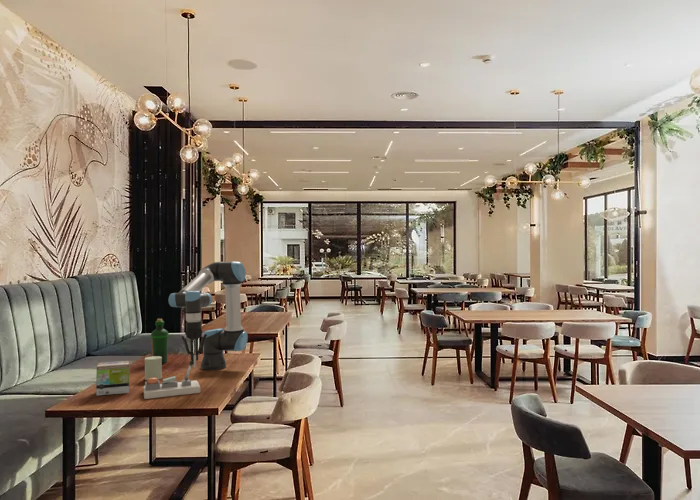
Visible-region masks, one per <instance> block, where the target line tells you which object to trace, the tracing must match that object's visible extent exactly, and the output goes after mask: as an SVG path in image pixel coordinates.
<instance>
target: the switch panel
mask: <svg viewBox="0 0 700 500" xmlns="http://www.w3.org/2000/svg"><path fill="white" fill-rule="evenodd" d="M200 393H201V386H200V383H199V382H198V380H191V379H189V378H188V380H185V379H181V381H178V380H174V381H170V382H166V383H164V382H163V381H161V382H160V380H158V383H157V384H148V381H144V385H143V397H144V400H146V399H147V400H148V399H157V398H165V397H173V396H182V395H191V394H200Z"/></svg>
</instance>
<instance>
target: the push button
mask: <svg viewBox="0 0 700 500" xmlns="http://www.w3.org/2000/svg"><path fill="white" fill-rule="evenodd" d="M158 381H159V379H157V378H148V380H147V382H148V384H157V383H158Z"/></svg>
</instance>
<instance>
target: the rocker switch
mask: <svg viewBox="0 0 700 500" xmlns="http://www.w3.org/2000/svg"><path fill="white" fill-rule="evenodd" d="M170 381H177V377H176V376H175V375H173V376H170V377H166V378H163V379H162V382H164V383H166V382H170Z"/></svg>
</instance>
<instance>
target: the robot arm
mask: <svg viewBox="0 0 700 500" xmlns="http://www.w3.org/2000/svg"><path fill="white" fill-rule="evenodd" d="M246 275H247V274H246V269H245V266H244V263H242V262H240V261H215V262H212V263H210V264H208V265H206V266H205V267H203V268H201V270H199V272H198V274H197V275H196V276H195V277H194V278H193V279H192V280H191V281H190V282H188V283H187V285H185V286H184V287H183V288H182V289H181V290H179V292H173V293H170V294H169V296H168V304H169V306H170V307H171V308H185V321H186V322H185V332H184V334H182V335H181V336H180V339H182V340H183V344H184V347H185V350H186V353H187V355H190V361H193V362H194V364H193V365H192V368H195V369H196V368H197V361H199V354H201V353H202V352H203V356H202V359H201V362H200V369H201V370H204V371H206V370H207V371H215V370H221V369H225V368H226V367H227V362H226V358H225V356H224V352H225V351H226V352H227V351H228V352H231V351H232V352H241V351H243V350H245V348H246V346H247V343H248V338H249V336H248V332H247V331H245V328H244V326H242V317H241V315H242V312H241V288H240V287H241V286H242V284H243V282H244V281H245V280H246ZM213 282H222V286H224V289H225V291H224V292H225V317H226V321H225V322H226V327H224V328H215V329H214V328H213V329H209V330H204V332H203V328H202V321H201V320H202V308H207V307H209V306H211V305H212V304H213V300H214V299H213V296H212V294H211V293H208V292H201V291H202V290H203V289H204V288H205V287H206V286H207V285H210V284H212V283H213ZM200 337H201V340H200V344H199V339H200ZM187 338H188V339H189V343H190V344H189V345H190V348H189V345H188V341H187Z"/></svg>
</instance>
